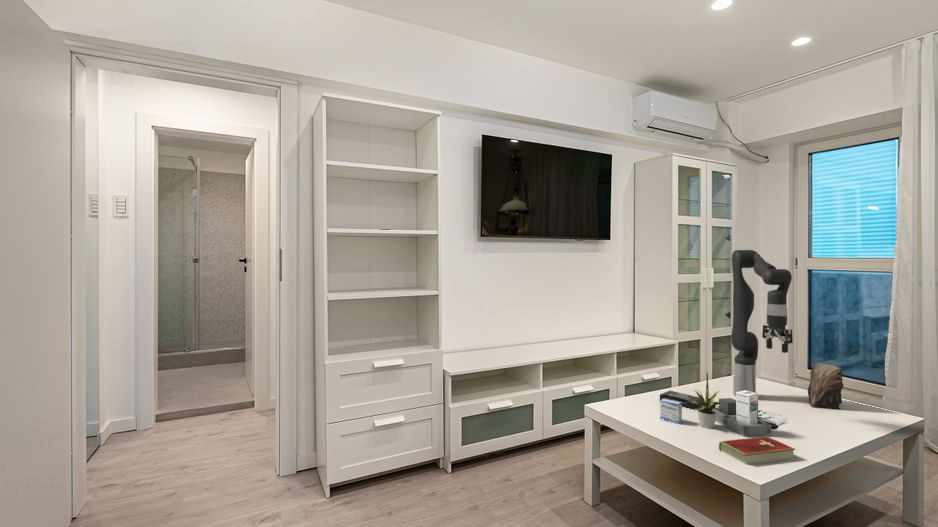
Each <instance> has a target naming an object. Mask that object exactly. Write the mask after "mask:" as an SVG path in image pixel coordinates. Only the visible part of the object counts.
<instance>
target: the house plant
mask: <svg viewBox="0 0 938 527" xmlns="http://www.w3.org/2000/svg"><path fill="white" fill-rule="evenodd" d="M695 389H696V390H695ZM695 389H694V391H692V392H693V393H694V392H695V393H696V394H695V393H694V394H695V395H696V396H695V395H694V396H695V397H697V398H698V397H699V398H700V399H699V398H698V399H699V401H700V403H701V402H702V403H701V405H700V404H699V403H697V402H696V401H692V403H694V404H696V403H697V405H700V406H699V408H698V409H697V416H698V421H699V426H700V427H701V428H704V429H713V428H714V427H715V422H716V421H715V418H716V412H715V411H713V409H717V410H718V408H720V409H721V410H722V408H721V407H719V404H721V403H719V401H714V400H715V399H719V397H721V396H720V395H719V396H717V394H719V392H720V391H715V392H714V391H712V393H709V397H708V393H707V391H708V389H707V391H706V390H705V397H704V396H703V394H702V392H701V391H699V389H697V388H695ZM685 390H687V391H688V389H685ZM697 390H698V391H697ZM708 398H709V399H708ZM708 402H709V403H708Z"/></svg>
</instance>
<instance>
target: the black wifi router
mask: <svg viewBox="0 0 938 527" xmlns="http://www.w3.org/2000/svg"><path fill="white" fill-rule="evenodd" d="M705 386H706V387H705V391H707V389H708V391H707V393H708V397H709V398H710V396H709V395H710V393H709V391H710V390H709V373H708V372H706V384H705ZM697 397H698V398H699V396H697ZM697 397H695V395H692V394H691V395H690V394H687V393H682V392H678V391H674V390H668V391H665V392H663V393H660V394H659V402H660V401H661V400H662V399H668V400H673V401H678V402H682V408H684V407H685V408H684V409H688V408H689V409H688V410H692V409H693V410H694V409H697V408H700V405H701V403H702V402H701V403H700V401H699V399H700V398H699V399H698V398H697ZM709 398H708V399H709ZM692 401H696V402H697V403H699V404H700V405H697V403H696V404H694V403H692ZM708 403H709V402H708Z"/></svg>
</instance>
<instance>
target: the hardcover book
mask: <svg viewBox="0 0 938 527" xmlns="http://www.w3.org/2000/svg"><path fill="white" fill-rule="evenodd" d="M718 450H720V451H719V452H723V453H724V454H726V455H728V456H730V457H732V458H733V459H736V460H737V461H739V462H741V463H742V464H745V465H752V464H758V463H766V462H773V461H780V460H781V461H782V460H783V461H784V460H789V459H791V460H792V459H794V451H796V448H795V447H792V446H789V445H787V444H785V443H783V442H781V441H779V440H776V439H774V438H772V437H769V436H768V435H764V436H755V437H748V438H747V437H746V438H740V439H729V440H728V439H727V440H720V441H719V443H718Z"/></svg>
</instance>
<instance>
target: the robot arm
mask: <svg viewBox="0 0 938 527" xmlns="http://www.w3.org/2000/svg"><path fill="white" fill-rule="evenodd" d="M731 267H732V268H731V269H732V280H733V282H732V284H733V286H732V288H733V289H732V296H733V297H732V305H733V306H732V311H733V312H732V329H731V336H730V337H731V338H730V341H731V342H730V343H731V344H732V347H733V348H734V349H735V350H736V351H738V354H737V355H736V356H735V357H734V375H733V379H732V380H733V383H732V384H733V390H732V391H733V392H732V393H733V395H734V397H736V392H740V391H744V390H746V391H751V392H754V393H757V392H756V391H757V388H756V387H757V386H756V384H757V383H756V382H757V377H756V376H757V372H756V371H757V370H756V369H757V366H756V365H757V360H758V356H759V355H758V354H759V340H758V337H757V335H756V334H755V333H754V332H751V331H748V325H749V320H750V318H751V316H752V314H753V311H754V309H755V294H754V291H753V289H752V288H751V287H750V285H749V284H748V282H747V281H746V279H745V277H744V274H743V269H751V268H752V269H753V271H754V273H755V274H756V275H757V276H759V277H761V279H762V282H763V283H764V284H766V285H768V286H778V287H777V288H776V289H772V290H768V292H767V306H766V324H763V325H762V332H761V333H762V334H761V335H762V336H761V337H762V338H763V339H765V342H766V343H765V344H766V346H765V347H766V349H768V350H770V349H773V339H774V338H778V340H779V341H780V342H781V353H784V354H787V353H788V352H789V345H790V344H793V339H794V338H793V329H792V328H790V329H788V328H787V329H786V326H788V305H787V304H788V303H787V297H788V296H787V295H788V292H789V290H790V289H789V288H790V286H791V283H792V278H793V276H792V273H791V272H790V271H789V270H788V269H786V268H784V269H783V268H776V266H774V265H773V264H771V263H769V262H768V261H766V260H765V259H764V257H762V256H761V255H760V254H759V253H758V251H756V250H753V249H736V250H734V251H733V252H732V254H731Z"/></svg>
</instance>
